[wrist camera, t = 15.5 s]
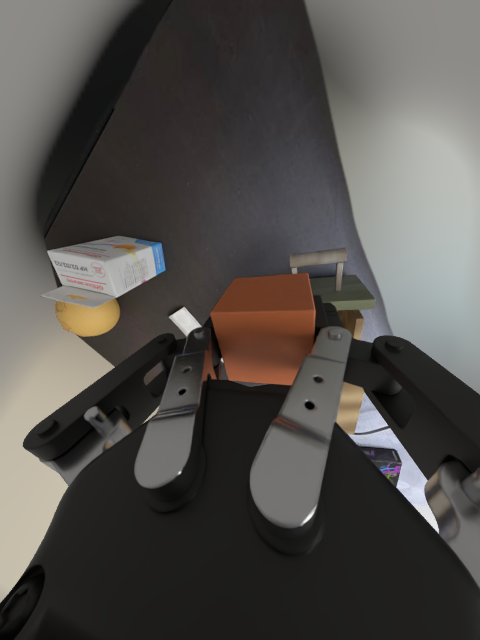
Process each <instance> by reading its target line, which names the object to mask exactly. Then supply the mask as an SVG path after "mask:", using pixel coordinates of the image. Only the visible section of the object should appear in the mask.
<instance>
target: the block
mask: <svg viewBox="0 0 480 640" xmlns="http://www.w3.org/2000/svg"><path fill="white" fill-rule="evenodd" d="M315 315H316V310H315V305H314V300H313V295H312V290H311V285H310V279H309V274H308V273H298V274H285V275H272V276H259V277H247V278H235V279H234V280H233V282H232V283H231V284H230V286H229V287H228V289H227V290H226V291H225V293H224V294H223V296H222V297H221V298H220V300H219V301H218V303H217V304H216V305H215V307H214V308H213V310H212V311H211V312H210V316H211V319H212V323H213V326H214V330H215V333H216V337H217V341H218V344H219V348H220V351H221V355H222V358H223V362H224V366H225V369H226V373H227V376H228V380H230V381H242V382H255V383H267V384H280V385H292V383H293V381H294V379H295V376H296V374H297V372H298V370H299V367H300V365H301V363H302V361H303V359H304V356H305V355H306V353H308V354H310V353H311V350H312V348H313V345H314V335H315Z"/></svg>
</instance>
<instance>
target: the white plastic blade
mask: <svg viewBox="0 0 480 640" xmlns="http://www.w3.org/2000/svg"><path fill="white" fill-rule="evenodd" d="M169 318H170V319H171V320H172V321H173V322H174V323H175V324H176V325H177V326H178V327H179V329H180V330H181V331H182V332H183V333H184V334H185V335H186V336H188V334H189V332H190V331H192V330H193V329H195V328H198V327H202V326H201V325H200V324H199V322H197V321H196V320H195V318H194V317H193V316H192V315H191V314H190V313H189V312H188V310H187V309H186V308H185V307H183V308H181V309H180V310H178V311H177V312H175V313H174V314H172V315H171V316H169ZM221 361H222V362H223V358H221ZM223 363H224V362H223Z"/></svg>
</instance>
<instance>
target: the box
mask: <svg viewBox="0 0 480 640" xmlns="http://www.w3.org/2000/svg"><path fill="white" fill-rule="evenodd" d="M360 449H361V450H362V451H363V452H364V453H365V454H366V455H367V456H368V457H369V458H370V459H371V461H372V462H373V463H374V464H375V465H376V466H377V467H378V468H379V469H380V470H381V471H382V473H383V474H384V475H385V476H386V477H387V478H388V479H389V480H390V481H391V482H392V483H393V485H394V486H395V487H396V486H397V482H398V478H399V474H400V469H401V466H402V462H401V460H400V457H399V455H398V453H397V451H396V450H389V449H377V448H365V447H360Z"/></svg>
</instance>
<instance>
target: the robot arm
mask: <svg viewBox="0 0 480 640" xmlns="http://www.w3.org/2000/svg"><path fill="white" fill-rule="evenodd" d="M313 300H314V305H315V310H316V315H315V335H314V345H313V348H312V350H311V353H310V354H308V353H306V355H305V356H304V359H303V361H302V363H301V365H300V367H299V370H298V372H297V374H296V376H295V379H294V381H293V383H292V385H280V384H269V385H261V386H254V387H248V386H244V385H241V384H238V383H235V382H232V381H229V380H221V363H220V360H221V358H222V355H221V351H220V348H219V344H218V341H217V337H216V333H215V330H214V326H213V323H212V319H211V316H210V317H209V318H208V320H207V321H206V322H205V324H204V325H203V327H198V328H195V329H193V330H192V331H190V332H189V334H188V336H187V338H184V339H179V340H176V339H175V337H174V335H173V334H170V333H166V334H162V335H160V336H157V337H156V338H154V339H153V340H152V341H150V342H149V343H147V344H146V345H145V346H143V347H142V348H141V349H139V350H138V351H137V352H135V353H134V354H132V355H131V356H130V357H128V358H127V359H126V360H124V361H123V362H122V363H120V364H119V365H118V366H116V367H115V368H113V369H112V370H111V371H109V372H108V373H107V374H105V375H104V376H103V377H101V378H100V379H98V380H97V381H96V382H94V383H93V384H92V385H90V386H89V387H88V388H86V389H85V390H84V391H82V392H81V393H79V394H78V395H77V396H75V397H74V398H73V399H71V400H70V401H69V402H67V403H66V404H65V405H63V406H62V407H60V408H59V409H58V410H56V411H55V412H54V413H52V414H51V415H49V416H48V417H47V418H45V419H44V420H43V421H41V422H40V423H39V424H37V425H36V426H35V427H34V428H33V429H32V430H31V431H30V432H29V434H28V435H27V436H26V438H25V439H24V442H23V447H24V448H25V449H26V450H28V451H29V452H31V453H32V454H34V455H35V456H36V457H38V458H39V459H40V461H41V462H42V463H44V464H46V465H47V466H49V467H50V468H52V469H53V470H55V471H56V472H58V473H59V474H60V475H61V476H62V478H63V479H64V480H65V482H66V483H67V484H68V486H69V487H68V488H67V490H66V492H65V493H64V495H63V497H62V499H61V501H60V502H59V505H58V507H57V510H56V512H55V514H54V517H53V519H52V522H51V524H50V526H49V528H48V530H47V533H46V535H45V537H44V539H43V541H42V542H41V544H40V546H39V548H38V550H37V552H36V554H35V555H34V557H33V559H32V561H31V562H30V564H29V566H28V567H27V569H26V571H25V572H24V574H23V575H22V576H21V578H20V579H19V581H18V582H17V584H16V585H15V586H14V587H13V589H12V590H11V591H10V593H9V594H8V595H7V596H6V598H4V600H3V601H2V602H1V603H0V640H480V395H479V394H478V393H477V392H476V391H474V390H473V389H472V388H470V387H469V386H468V385H466V384H465V383H464V382H462V381H461V380H460V379H458V378H457V377H456V376H454V375H453V374H452V373H450V372H449V371H448V370H446V369H445V368H444V367H442V366H441V365H440V364H438V363H437V362H436V361H434V360H433V359H432V358H430V357H429V356H428V355H426V354H425V353H424V352H422V351H421V350H420V349H419V348H417V347H416V346H415V345H413V344H412V343H411V342H409V341H407V340H405V339H403V338H400V337H396V336H379V337H377V338H375V339H374V342H373V343H370V342H365V341H361V340H357V339H354V338H352V335H351V333H350V332H349V331H348V330H346V329H344V328H343V325H342V322H341V320H340V317H339V315H338V312H337V309H336V307H335V306H334V305H333V304H332V303H330V302H326V303H323V302H322V298H321V295H313ZM158 363H160V365H161V367H162V369H163V371H162V372H161V373H160V374H158V375H157V376H156V377H155V378H154V379H153V380H152V381H151V382H150V383H149V384H148V385H145V384H144V376H145V375H146V373H147V372H149V371H150V370H151V369H152V368H153V367H154V366H156V365H157V364H158ZM344 382H346V383H349V384H352V385H355V386H359V387H362V388H363V390H364V392H365V393H366V395H367V396H368V398H369V399H370V400H371V402H372V403H373V405H374V406H375V407H376V409H377V410H378V412H379V413H380V414H381V416H382V417H383V419H384V420H385V421H386V423H387V424H388V426H389V427H390V428H391V430H392V431H393V433H394V434H395V435H396V437H397V438H398V440H399V441H400V442H401V444H402V445H403V447H404V448H405V449H406V451H407V452H408V454H409V455H410V456H411V458H412V459H413V461H414V462H415V463H416V465H417V466H418V467H419V469H420V470H421V472H422V473H423V474H424V476H425V477H426V479H427V480H428V481H427V483H426V485H425V489H424V490H425V497H426V500H427V503H428V505H429V507H430V508H431V511H432V512H433V514H434V516H435V518H436V521H437V524H438V528H439V534H438V533H437V531H435V529H434V528H433V527H432V526H431V525H430V524H429V523H428V522H427V521H426V519H425V518H424V517H423V516H422V515H421V514H420V513H419V512H418V511H417V510H416V509H415V507H414V506H413V505H412V504H411V503H410V502H409V501H408V500H407V499H406V498H405V497H404V495H403V494H402V493H401V492H400V491H399V490H398V489H397V488H396V487H395V486H394V485H393V483H392V482H391V481H390V480H389V479H388V478H387V477H386V476H385V475H384V474H383V473H382V471H381V470H380V469H379V468H378V467H377V466H376V465H375V464H374V463H373V462H372V461H371V459H370V458H369V457H368V456H367V455H366V454H365V453H364V452H363V451H362V450H361V449H360V447H359V446H358V445H357V444H356V443H355V442H354V441H353V440H352V439H351V438H350V437H349V435H348V434H347V433H346V432H345V431H344V430H343V429H342V428H341V427H340V426H339V424H338V423H337V422H336V420H337V415H338V409H339V404H340V399H341V394H342V389H343V384H344ZM159 405H160V406H159ZM158 406H159V409H158V412H157V414H156V415H154V416H153V417H152V418H151V419H149V420H148V421H146V422H145V423H143V422H144V421H145V420H146V419H147V418H148V417H149V416H150V415H151V414H152V413H153V412H154V411H155V409H156V408H157V407H158ZM142 423H143V424H142Z"/></svg>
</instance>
